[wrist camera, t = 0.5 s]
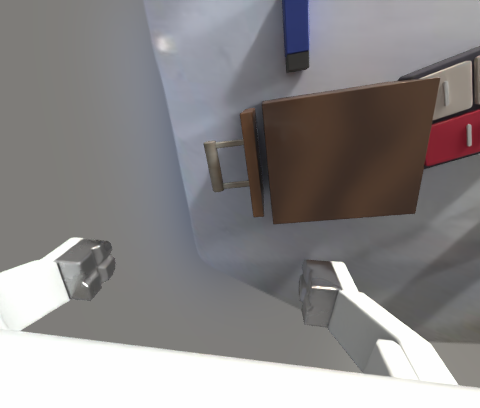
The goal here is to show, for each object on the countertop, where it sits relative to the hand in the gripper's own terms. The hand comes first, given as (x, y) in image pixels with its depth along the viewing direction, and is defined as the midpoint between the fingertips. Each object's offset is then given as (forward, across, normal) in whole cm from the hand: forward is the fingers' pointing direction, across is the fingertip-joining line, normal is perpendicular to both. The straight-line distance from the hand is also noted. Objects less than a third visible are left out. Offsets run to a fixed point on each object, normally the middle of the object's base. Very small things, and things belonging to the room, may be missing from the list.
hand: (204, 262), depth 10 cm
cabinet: (+25, -10, -1) cm, 27 cm away
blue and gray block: (+25, -5, -13) cm, 29 cm away
